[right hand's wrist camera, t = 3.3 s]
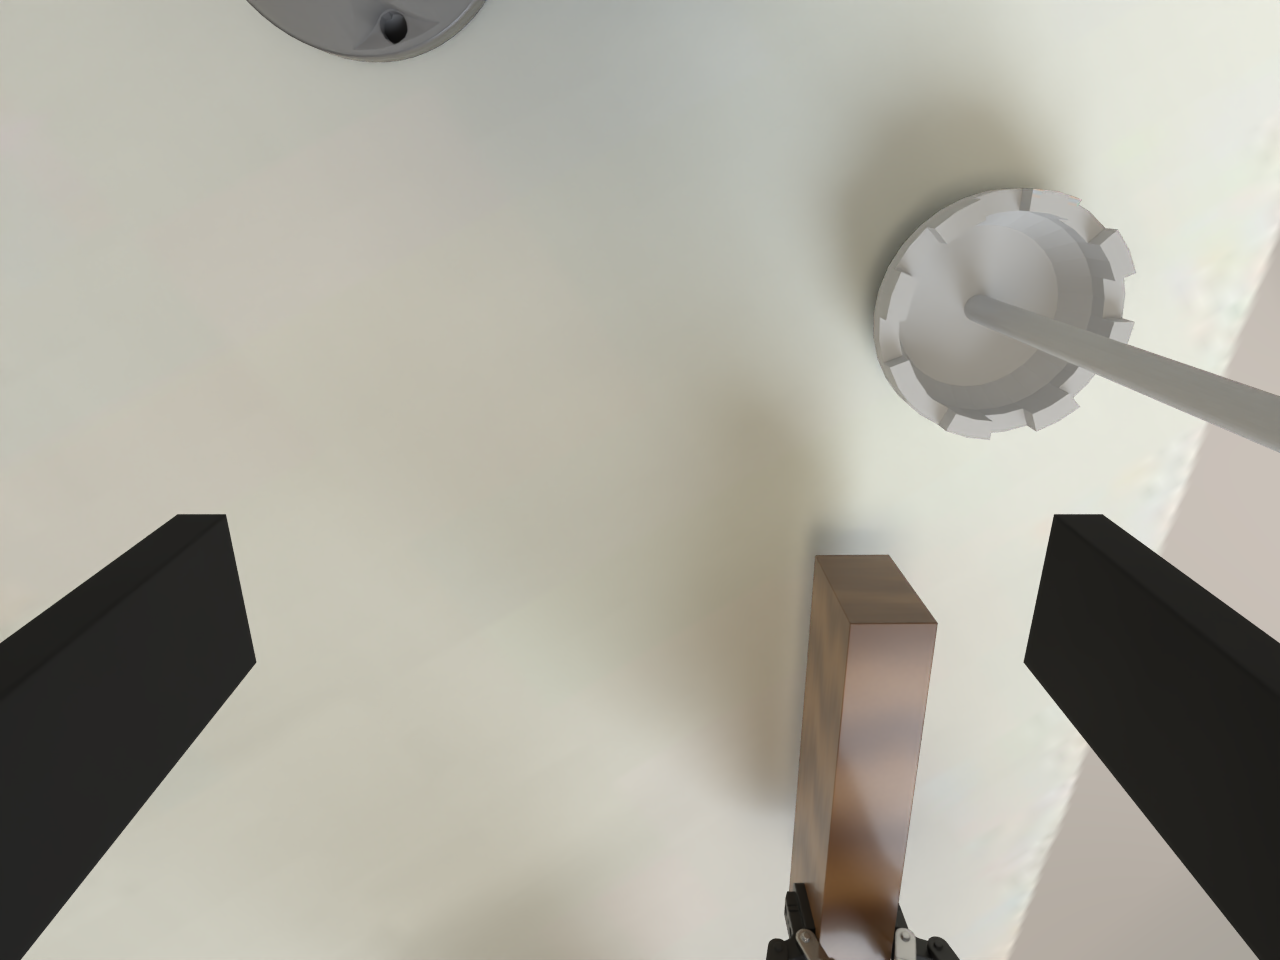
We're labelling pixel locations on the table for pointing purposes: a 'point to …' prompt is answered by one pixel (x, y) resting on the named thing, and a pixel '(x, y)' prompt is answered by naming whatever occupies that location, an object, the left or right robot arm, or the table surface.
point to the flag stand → (1030, 322)
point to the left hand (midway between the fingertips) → (836, 892)
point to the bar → (859, 749)
